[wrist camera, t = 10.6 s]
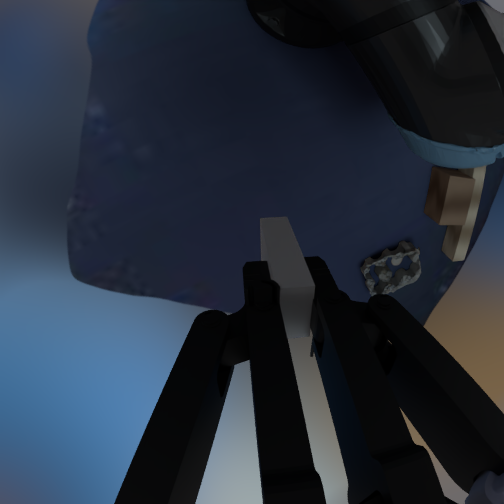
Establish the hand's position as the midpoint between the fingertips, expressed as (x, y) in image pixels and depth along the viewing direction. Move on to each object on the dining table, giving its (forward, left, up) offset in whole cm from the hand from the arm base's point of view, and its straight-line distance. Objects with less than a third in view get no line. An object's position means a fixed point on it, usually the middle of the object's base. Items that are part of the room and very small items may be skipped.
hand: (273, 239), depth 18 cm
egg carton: (+19, +23, -25) cm, 39 cm away
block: (+5, +32, -25) cm, 41 cm away
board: (+5, +36, -24) cm, 44 cm away
